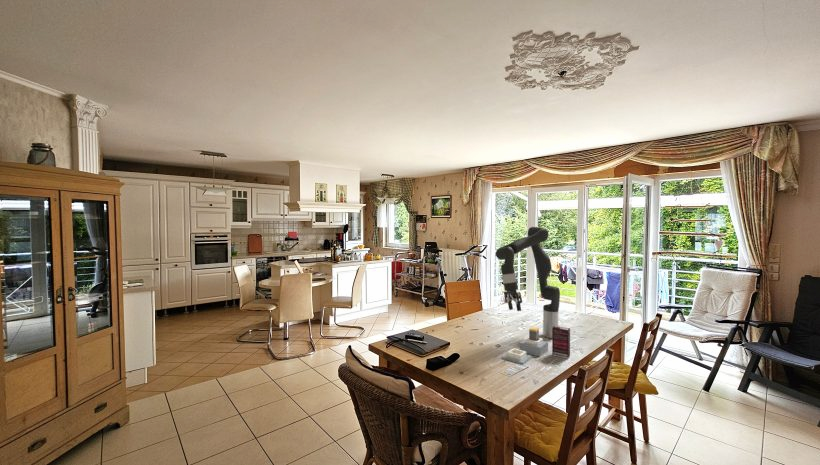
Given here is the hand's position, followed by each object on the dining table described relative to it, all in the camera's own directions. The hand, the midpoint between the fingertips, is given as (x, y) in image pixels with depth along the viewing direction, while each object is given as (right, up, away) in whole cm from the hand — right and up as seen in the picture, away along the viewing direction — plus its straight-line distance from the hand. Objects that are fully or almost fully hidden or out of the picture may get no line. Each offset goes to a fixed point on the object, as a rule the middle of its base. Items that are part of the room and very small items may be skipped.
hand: (515, 310), depth 187 cm
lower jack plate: (-1, -25, -6) cm, 26 cm away
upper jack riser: (+13, -25, +5) cm, 28 cm away
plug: (+13, -20, +5) cm, 24 cm away
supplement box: (+25, -25, -2) cm, 35 cm away
